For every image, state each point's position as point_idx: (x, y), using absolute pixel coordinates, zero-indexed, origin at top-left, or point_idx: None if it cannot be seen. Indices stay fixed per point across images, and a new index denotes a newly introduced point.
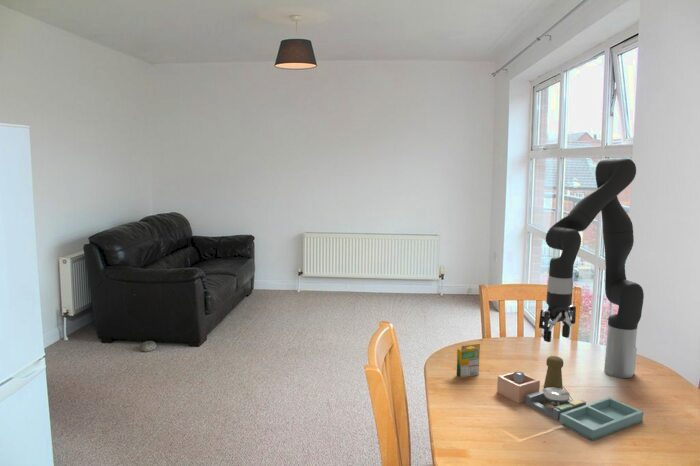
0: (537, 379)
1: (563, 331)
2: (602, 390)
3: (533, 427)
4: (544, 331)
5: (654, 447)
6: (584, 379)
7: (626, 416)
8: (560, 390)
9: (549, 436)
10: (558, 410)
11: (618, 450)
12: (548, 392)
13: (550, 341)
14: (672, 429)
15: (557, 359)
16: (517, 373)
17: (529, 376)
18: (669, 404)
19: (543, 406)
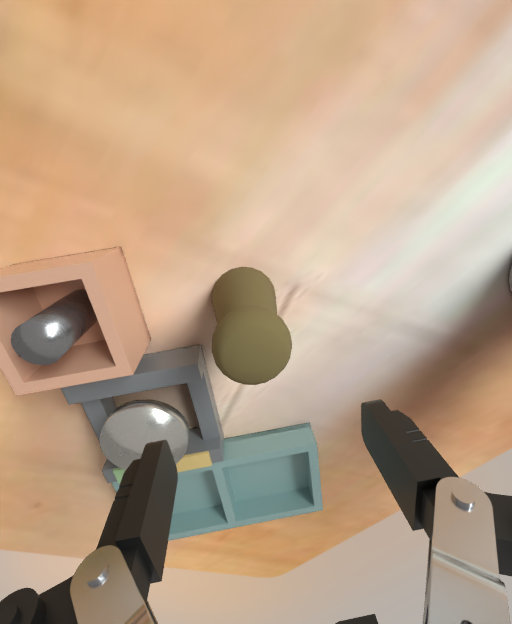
0: (129, 364)
1: (383, 440)
2: (381, 348)
3: (41, 458)
4: (101, 546)
5: (248, 549)
6: (407, 266)
7: (265, 518)
8: (170, 434)
9: (61, 493)
10: (110, 480)
11: (174, 546)
12: (119, 435)
13: (176, 477)
14: (340, 516)
15: (248, 378)
16: (29, 343)
17: (110, 332)
18: (448, 446)
19: (103, 424)
